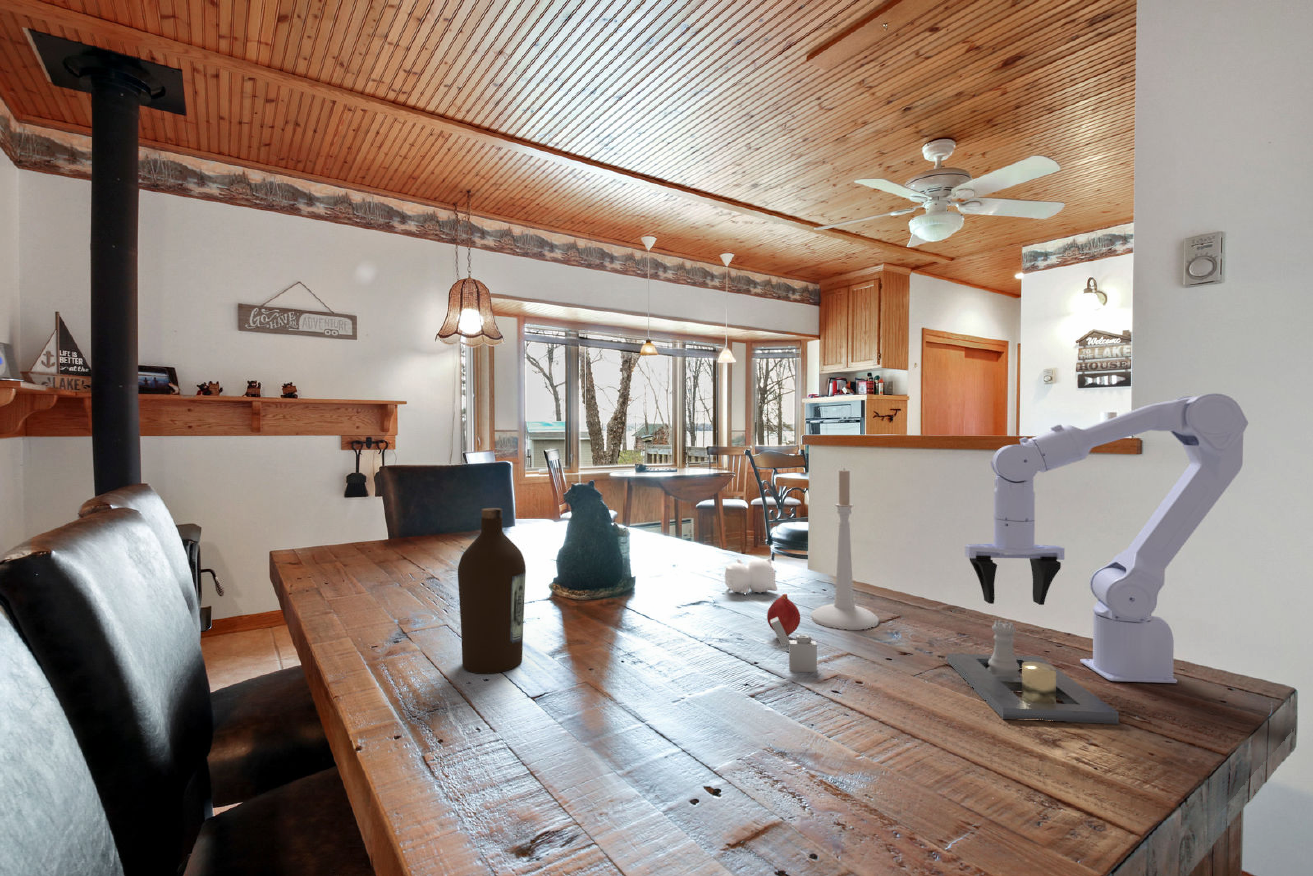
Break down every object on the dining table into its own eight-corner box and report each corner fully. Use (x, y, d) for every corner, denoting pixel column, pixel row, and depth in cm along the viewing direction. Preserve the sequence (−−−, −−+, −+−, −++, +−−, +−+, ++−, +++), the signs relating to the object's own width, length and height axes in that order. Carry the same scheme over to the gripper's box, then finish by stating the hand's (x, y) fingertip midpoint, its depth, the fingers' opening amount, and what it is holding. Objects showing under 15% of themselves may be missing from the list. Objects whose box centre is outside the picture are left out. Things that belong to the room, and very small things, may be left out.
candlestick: (885, 616, 126) (885, 467, 126) (869, 634, 115) (869, 471, 115) (822, 607, 133) (822, 465, 133) (801, 623, 122) (801, 469, 122)
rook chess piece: (1024, 681, 93) (1024, 628, 93) (990, 678, 95) (990, 625, 95) (1016, 670, 98) (1016, 619, 97) (984, 667, 99) (984, 617, 99)
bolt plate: (1039, 665, 100) (1039, 634, 100) (1118, 724, 80) (1118, 685, 80) (947, 662, 101) (947, 631, 101) (1003, 719, 81) (1003, 681, 81)
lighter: (815, 667, 99) (815, 617, 99) (817, 672, 97) (817, 620, 97) (769, 666, 100) (769, 616, 100) (770, 670, 98) (770, 619, 98)
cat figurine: (724, 554, 143) (775, 550, 145) (716, 570, 152) (763, 566, 154) (731, 591, 138) (783, 587, 140) (722, 605, 147) (771, 601, 149)
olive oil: (450, 676, 96) (448, 513, 96) (468, 652, 107) (467, 505, 106) (519, 675, 96) (518, 513, 96) (531, 651, 107) (530, 504, 107)
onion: (764, 640, 112) (764, 596, 112) (770, 631, 117) (770, 588, 117) (797, 644, 110) (797, 599, 110) (802, 634, 115) (802, 591, 115)
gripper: (1048, 516, 105) (1048, 597, 105) (957, 515, 106) (957, 595, 107) (1072, 522, 98) (1071, 609, 98) (974, 521, 99) (974, 606, 99)
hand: (1013, 602), depth 102 cm, fingers open, 7 cm apart
